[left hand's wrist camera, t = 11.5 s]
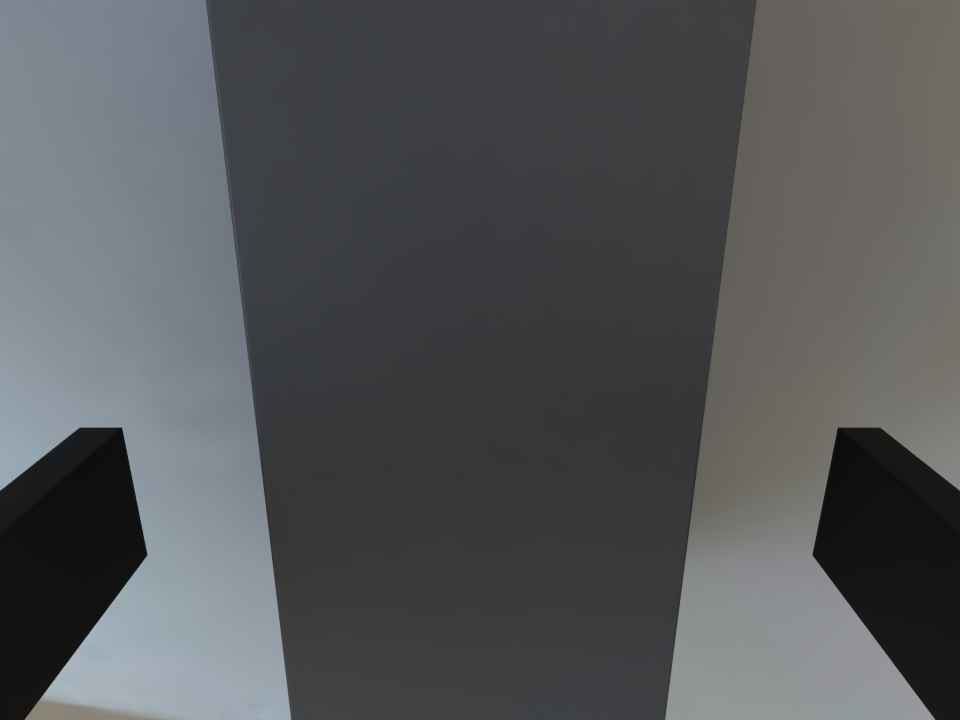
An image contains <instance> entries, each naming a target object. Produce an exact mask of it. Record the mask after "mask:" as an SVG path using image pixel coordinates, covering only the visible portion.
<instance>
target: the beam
mask: <svg viewBox="0 0 960 720" xmlns="http://www.w3.org/2000/svg"><path fill="white" fill-rule="evenodd" d="M206 4H207V13H208V21H209V30H210V38H211V46H212V55H213V63H214V72H215V80H216V89H217V97H218V105H219V114H220V122H221V131H222V139H223V148H224V156H225V164H226V173H227V181H228V190H229V198H230V207H231V215H232V223H233V232H234V240H235V249H236V257H237V266H238V274H239V282H240V291H241V299H242V308H243V316H244V325H245V333H246V341H247V350H248V358H249V367H250V375H251V384H252V392H253V400H254V409H255V417H256V426H257V434H258V443H259V451H260V459H261V468H262V476H263V485H264V493H265V502H266V510H267V518H268V527H269V535H270V544H271V552H272V561H273V569H274V577H275V586H276V594H277V603H278V611H279V620H280V628H281V636H282V645H283V653H284V662H285V670H286V679H287V687H288V695H289V704H290V712H291V720H665V716H666V708H667V700H668V692H669V684H670V676H671V668H672V661H673V653H674V645H675V637H676V629H677V621H678V613H679V605H680V598H681V590H682V582H683V574H684V566H685V558H686V550H687V542H688V535H689V527H690V519H691V511H692V503H693V495H694V487H695V479H696V472H697V464H698V456H699V448H700V440H701V432H702V424H703V416H704V408H705V401H706V393H707V385H708V377H709V369H710V361H711V353H712V345H713V338H714V330H715V322H716V314H717V306H718V298H719V290H720V282H721V275H722V267H723V259H724V251H725V243H726V235H727V227H728V219H729V212H730V204H731V196H732V188H733V180H734V172H735V164H736V156H737V148H738V141H739V133H740V125H741V117H742V109H743V101H744V93H745V85H746V78H747V70H748V62H749V54H750V46H751V38H752V30H753V22H754V15H755V7H756V0H206Z"/></svg>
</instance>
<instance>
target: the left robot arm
mask: <svg viewBox="0 0 960 720" xmlns="http://www.w3.org/2000/svg"><path fill="white" fill-rule="evenodd" d="M146 556H147V551H146V546H145V541H144V536H143V531H142V526H141V521H140V516H139V511H138V506H137V500H136V495H135V490H134V485H133V480H132V475H131V470H130V465H129V460H128V455H127V450H126V445H125V440H124V435H123V430H122V428H79V429H78V430H76V431H75V432H74V433H73V434H71V435H70V436H69V437H68V438H66V439H65V440H64V441H62V442H61V443H60V444H59V445H57V446H56V447H55V448H54V449H52V450H51V451H50V452H49V453H47V454H46V455H45V456H44V457H42V458H41V459H40V460H39V461H37V462H36V463H35V464H33V465H32V466H31V467H30V468H28V469H27V470H26V471H25V472H23V473H22V474H21V475H20V476H18V477H17V478H16V479H15V480H13V481H12V482H11V483H10V484H8V485H7V486H6V487H5V488H3V489H2V490H1V491H0V720H25V718H26V717H27V716H28V714H29V713H30V712H31V710H32V709H33V708H34V706H35V705H36V704H37V702H38V701H39V700H40V698H41V697H42V696H43V694H44V693H45V692H46V690H47V689H48V688H49V686H50V685H51V684H52V682H53V681H54V680H55V678H56V677H57V676H58V674H59V673H60V672H61V670H62V669H63V668H64V666H65V665H66V663H67V662H68V661H69V659H70V658H71V657H72V655H73V654H74V653H75V651H76V650H77V649H78V647H79V646H80V645H81V643H82V642H83V641H84V639H85V638H86V637H87V635H88V634H89V633H90V631H91V630H92V629H93V627H94V626H95V625H96V623H97V622H98V621H99V619H100V618H101V617H102V615H103V614H104V613H105V611H106V610H107V609H108V607H109V606H110V605H111V603H112V602H113V601H114V599H115V598H116V597H117V595H118V594H119V593H120V591H121V590H122V589H123V587H124V586H125V585H126V583H127V582H128V581H129V579H130V578H131V576H132V575H133V574H134V572H135V571H136V570H137V568H138V567H139V566H140V564H141V563H142V562H143V560H144V559H145V558H146ZM813 556H814V558H815V559H816V560H817V562H818V563H819V564H820V566H821V567H822V568H823V570H824V571H825V572H826V574H827V575H828V577H829V578H830V579H831V581H832V582H833V583H834V585H835V586H836V587H837V589H838V590H839V591H840V593H841V594H842V595H843V597H844V598H845V599H846V601H847V602H848V603H849V605H850V606H851V607H852V609H853V610H854V611H855V613H856V614H857V615H858V617H859V618H860V619H861V621H862V622H863V623H864V625H865V626H866V627H867V629H868V630H869V631H870V633H871V634H872V635H873V637H874V638H875V639H876V641H877V642H878V643H879V645H880V646H881V647H882V649H883V650H884V651H885V653H886V654H887V655H888V657H889V658H890V659H891V661H892V662H893V664H894V665H895V666H896V668H897V669H898V670H899V672H900V673H901V674H902V676H903V677H904V678H905V680H906V681H907V682H908V684H909V685H910V686H911V688H912V689H913V690H914V692H915V693H916V694H917V696H918V697H919V698H920V700H921V701H922V702H923V704H924V705H925V706H926V708H927V709H928V710H929V712H930V713H931V714H932V716H933V717H934V718H935V720H960V491H959V490H958V489H957V488H955V487H954V486H953V485H952V484H950V483H949V482H948V481H947V480H945V479H944V478H943V477H942V476H940V475H939V474H938V473H937V472H935V471H934V470H933V469H932V468H930V467H929V466H928V465H926V464H925V463H924V462H923V461H921V460H920V459H919V458H918V457H916V456H915V455H914V454H913V453H911V452H910V451H909V450H908V449H906V448H905V447H904V446H903V445H901V444H900V443H899V442H898V441H896V440H895V439H894V438H892V437H891V436H890V435H889V434H887V433H886V432H885V431H884V430H882V429H881V428H838V430H837V435H836V440H835V445H834V450H833V455H832V460H831V465H830V470H829V475H828V480H827V485H826V490H825V495H824V500H823V505H822V510H821V515H820V520H819V526H818V531H817V536H816V541H815V546H814V551H813Z"/></svg>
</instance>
